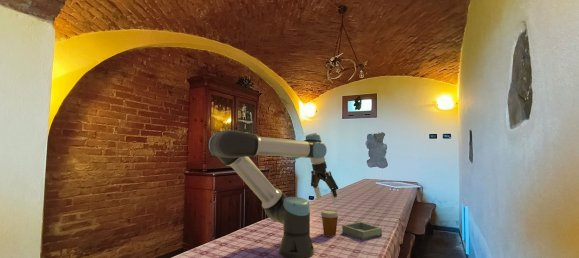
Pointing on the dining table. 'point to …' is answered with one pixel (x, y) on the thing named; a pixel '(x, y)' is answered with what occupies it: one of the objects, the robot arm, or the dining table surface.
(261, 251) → the dining table surface
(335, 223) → the disposable coffee cup
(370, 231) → the bin
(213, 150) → the robot arm
